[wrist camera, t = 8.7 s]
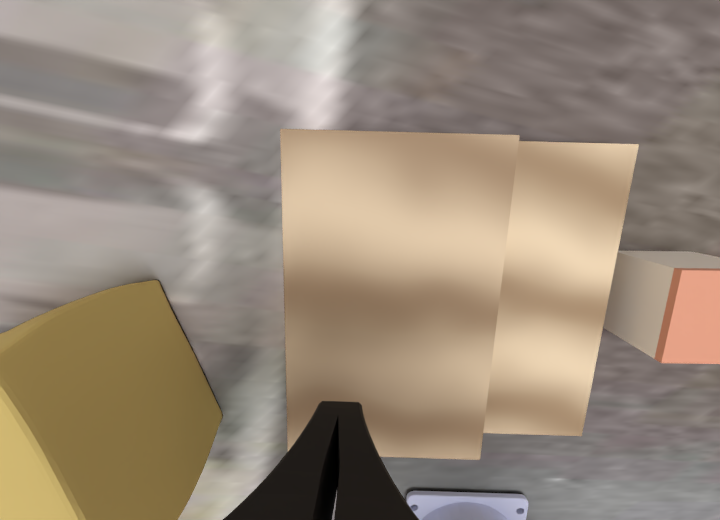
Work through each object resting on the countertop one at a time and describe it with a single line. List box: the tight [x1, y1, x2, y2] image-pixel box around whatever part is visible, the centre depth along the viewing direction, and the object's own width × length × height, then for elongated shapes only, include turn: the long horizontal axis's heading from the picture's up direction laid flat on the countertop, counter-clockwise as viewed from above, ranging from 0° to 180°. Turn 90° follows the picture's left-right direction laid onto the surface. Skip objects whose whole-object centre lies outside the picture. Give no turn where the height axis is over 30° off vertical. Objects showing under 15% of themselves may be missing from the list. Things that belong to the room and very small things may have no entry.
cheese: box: [0, 280, 222, 520], centre depth 17 cm, size 10×11×10 cm
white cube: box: [603, 251, 720, 364], centre depth 18 cm, size 4×4×4 cm
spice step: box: [280, 129, 639, 460], centre depth 18 cm, size 16×16×4 cm
